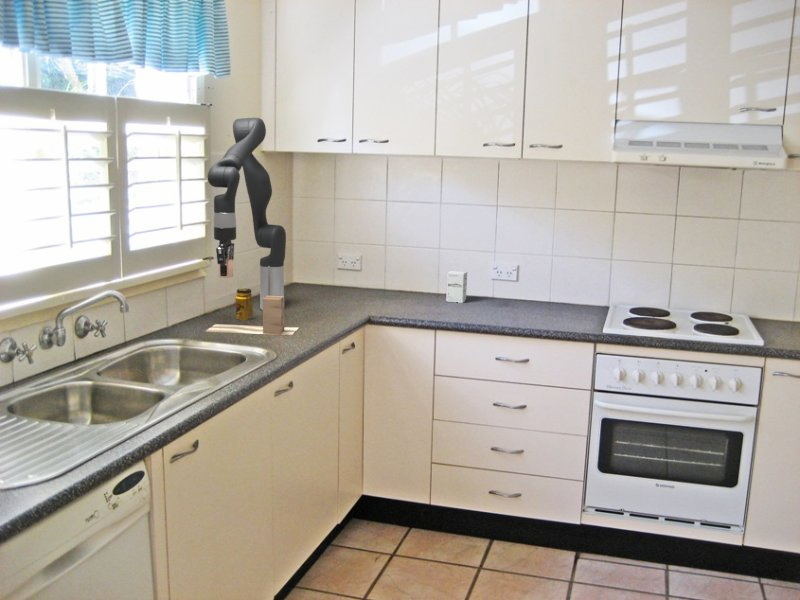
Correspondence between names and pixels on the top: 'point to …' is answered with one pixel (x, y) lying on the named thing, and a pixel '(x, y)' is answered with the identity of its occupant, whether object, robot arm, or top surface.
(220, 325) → the birch board
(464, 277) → the supplement box
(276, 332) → the walnut block bottom
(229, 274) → the terracotta capsule
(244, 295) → the condiment
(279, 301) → the walnut block top
